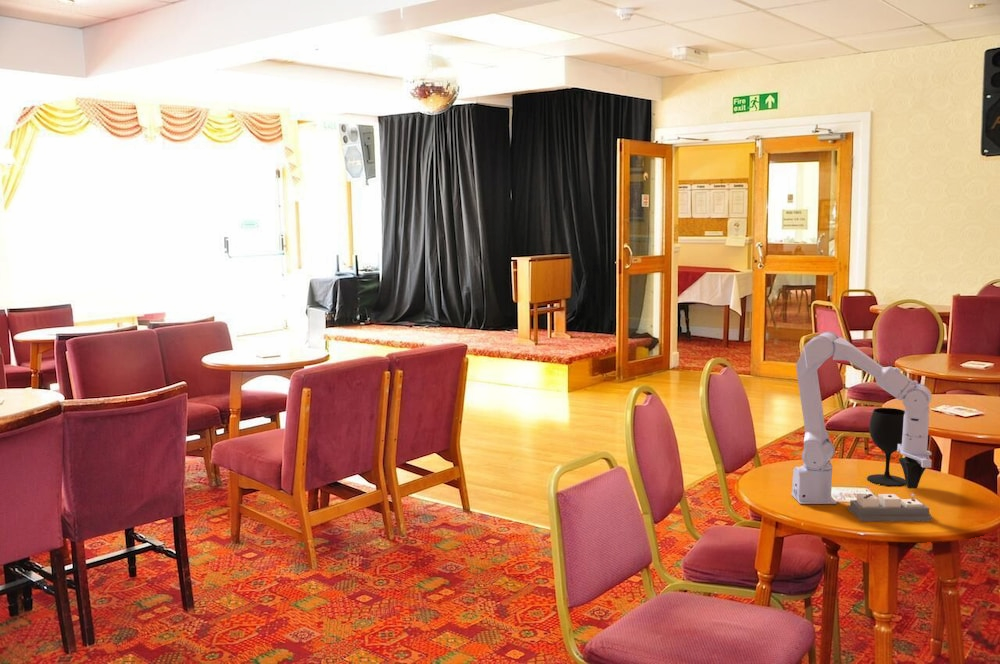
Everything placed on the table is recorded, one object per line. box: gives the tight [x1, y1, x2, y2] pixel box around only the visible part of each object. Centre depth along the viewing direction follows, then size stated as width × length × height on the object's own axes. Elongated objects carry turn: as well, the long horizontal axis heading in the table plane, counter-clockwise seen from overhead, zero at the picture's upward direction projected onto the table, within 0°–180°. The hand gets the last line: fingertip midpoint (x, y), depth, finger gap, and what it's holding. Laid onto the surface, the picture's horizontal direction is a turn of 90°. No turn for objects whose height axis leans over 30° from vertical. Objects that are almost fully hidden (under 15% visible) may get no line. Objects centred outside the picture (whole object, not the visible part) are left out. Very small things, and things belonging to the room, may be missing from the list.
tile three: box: [856, 493, 879, 507], centre depth 224 cm, size 4×4×3 cm
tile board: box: [847, 499, 933, 522], centre depth 225 cm, size 17×9×3 cm, turn 89°
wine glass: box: [866, 407, 906, 487], centre depth 251 cm, size 10×10×20 cm
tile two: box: [900, 498, 924, 507], centre depth 224 cm, size 4×4×3 cm
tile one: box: [877, 493, 902, 507], centre depth 224 cm, size 4×4×3 cm
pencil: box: [910, 492, 933, 520], centre depth 231 cm, size 1×1×19 cm
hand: (911, 487), depth 224 cm, fingers closed
